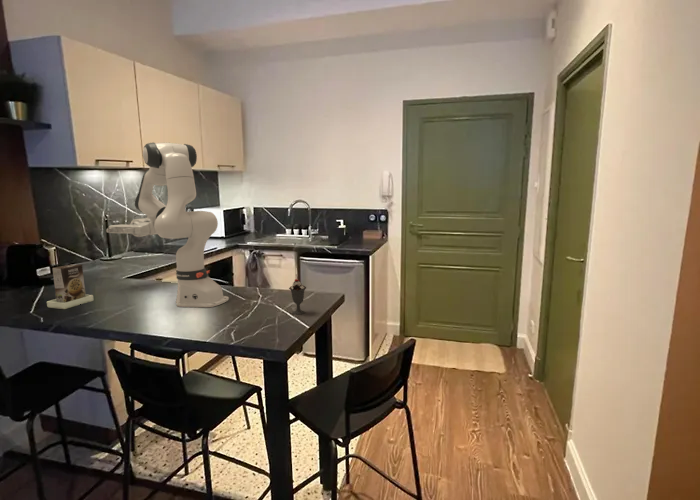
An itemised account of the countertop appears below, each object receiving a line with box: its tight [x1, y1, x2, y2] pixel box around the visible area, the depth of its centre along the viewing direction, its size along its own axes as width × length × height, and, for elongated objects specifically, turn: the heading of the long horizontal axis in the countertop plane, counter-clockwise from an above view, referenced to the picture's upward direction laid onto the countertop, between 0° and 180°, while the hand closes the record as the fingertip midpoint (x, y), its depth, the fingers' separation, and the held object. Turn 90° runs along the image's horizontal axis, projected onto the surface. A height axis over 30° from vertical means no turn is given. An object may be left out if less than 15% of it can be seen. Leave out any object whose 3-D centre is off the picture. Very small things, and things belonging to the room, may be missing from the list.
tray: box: [46, 294, 94, 310], centre depth 179 cm, size 10×13×2 cm
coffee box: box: [52, 263, 87, 303], centre depth 178 cm, size 9×6×16 cm
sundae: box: [288, 274, 307, 316], centre depth 161 cm, size 7×7×15 cm
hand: (115, 230), depth 190 cm, fingers open, 8 cm apart
